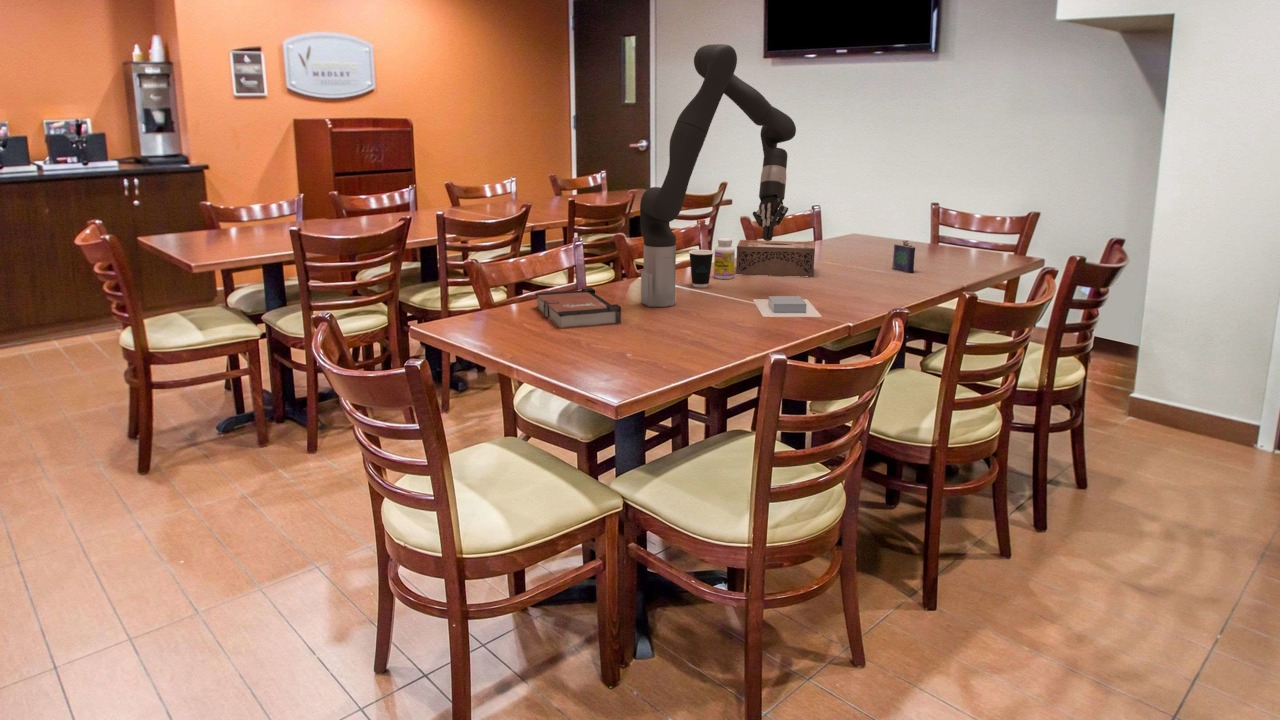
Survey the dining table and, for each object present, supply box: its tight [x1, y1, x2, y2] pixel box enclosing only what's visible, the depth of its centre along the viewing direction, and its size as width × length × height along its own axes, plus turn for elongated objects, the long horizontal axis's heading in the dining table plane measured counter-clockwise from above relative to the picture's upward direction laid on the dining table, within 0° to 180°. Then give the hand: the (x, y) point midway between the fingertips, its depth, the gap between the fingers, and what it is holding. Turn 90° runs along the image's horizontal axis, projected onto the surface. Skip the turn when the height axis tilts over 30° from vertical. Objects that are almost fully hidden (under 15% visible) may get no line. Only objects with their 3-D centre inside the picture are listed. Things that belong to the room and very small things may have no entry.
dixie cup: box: [688, 249, 715, 288], centre depth 283 cm, size 8×8×11 cm
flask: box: [891, 240, 916, 274], centre depth 308 cm, size 9×3×11 cm, turn 28°
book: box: [535, 287, 622, 330], centre depth 245 cm, size 26×18×5 cm
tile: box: [768, 295, 807, 313], centre depth 250 cm, size 2×9×10 cm
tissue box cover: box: [735, 239, 816, 278], centre depth 306 cm, size 26×14×10 cm, turn 79°
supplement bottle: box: [713, 237, 736, 280], centre depth 296 cm, size 7×7×13 cm
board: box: [752, 298, 823, 318], centre depth 252 cm, size 22×16×1 cm
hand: (767, 240), depth 263 cm, fingers closed
